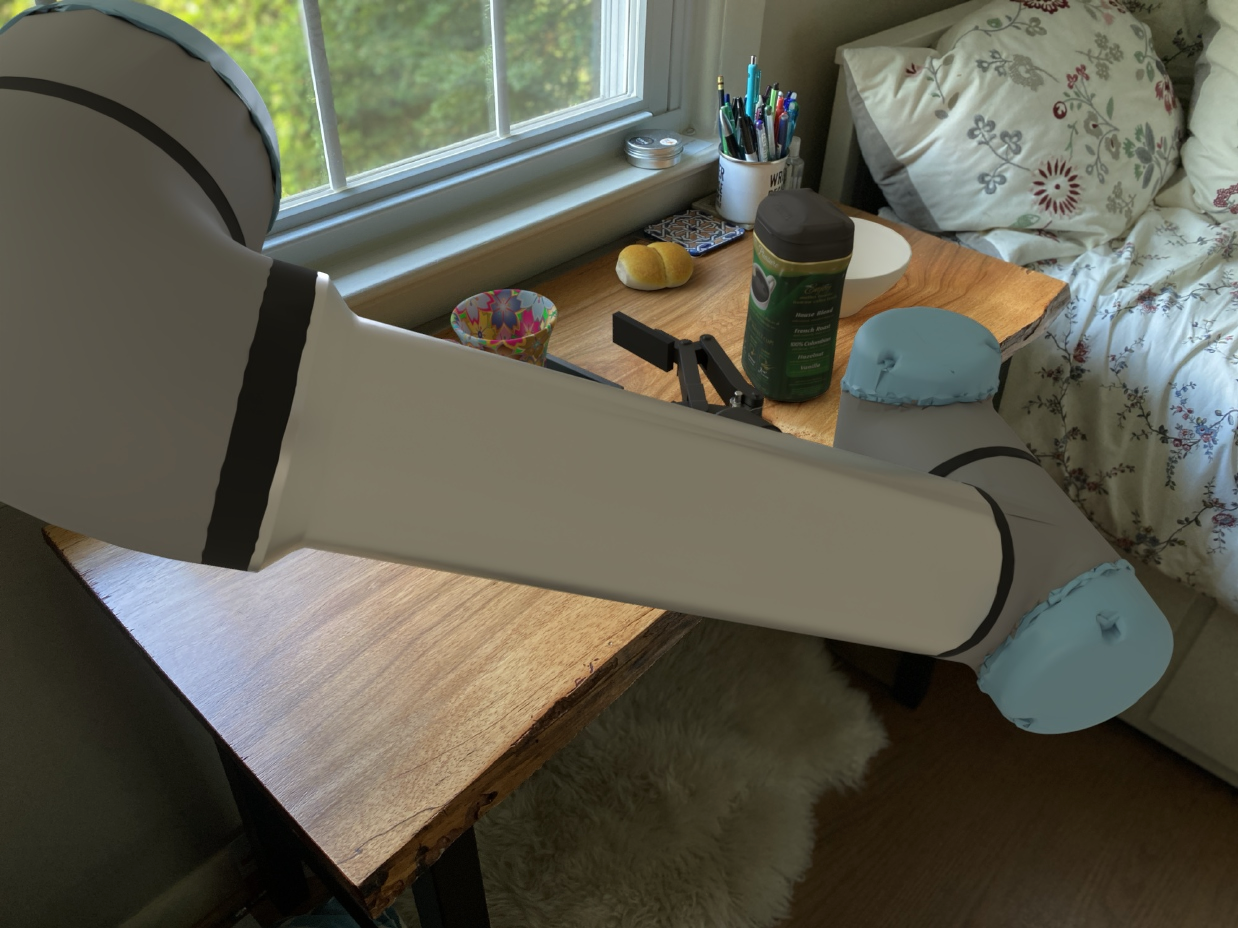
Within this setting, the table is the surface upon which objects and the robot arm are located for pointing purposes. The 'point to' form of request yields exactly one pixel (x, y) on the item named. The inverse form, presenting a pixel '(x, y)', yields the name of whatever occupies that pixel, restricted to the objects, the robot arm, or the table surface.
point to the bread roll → (654, 266)
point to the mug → (506, 324)
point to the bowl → (873, 265)
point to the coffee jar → (796, 294)
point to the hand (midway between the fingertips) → (553, 355)
